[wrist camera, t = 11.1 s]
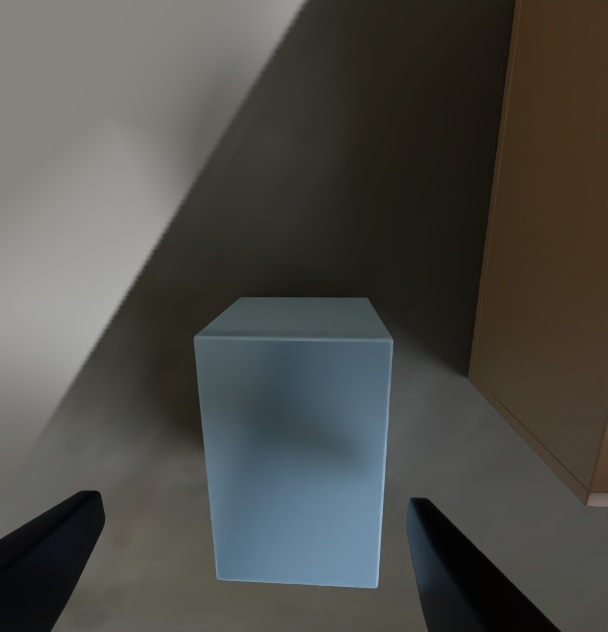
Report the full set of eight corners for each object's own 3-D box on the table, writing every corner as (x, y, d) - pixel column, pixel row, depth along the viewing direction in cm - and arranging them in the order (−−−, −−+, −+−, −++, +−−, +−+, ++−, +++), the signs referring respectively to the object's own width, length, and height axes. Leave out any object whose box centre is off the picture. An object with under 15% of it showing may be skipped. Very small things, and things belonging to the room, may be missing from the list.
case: (368, 297, 13) (394, 339, 8) (360, 473, 15) (377, 589, 10) (240, 296, 13) (192, 336, 8) (250, 469, 15) (216, 580, 11)
